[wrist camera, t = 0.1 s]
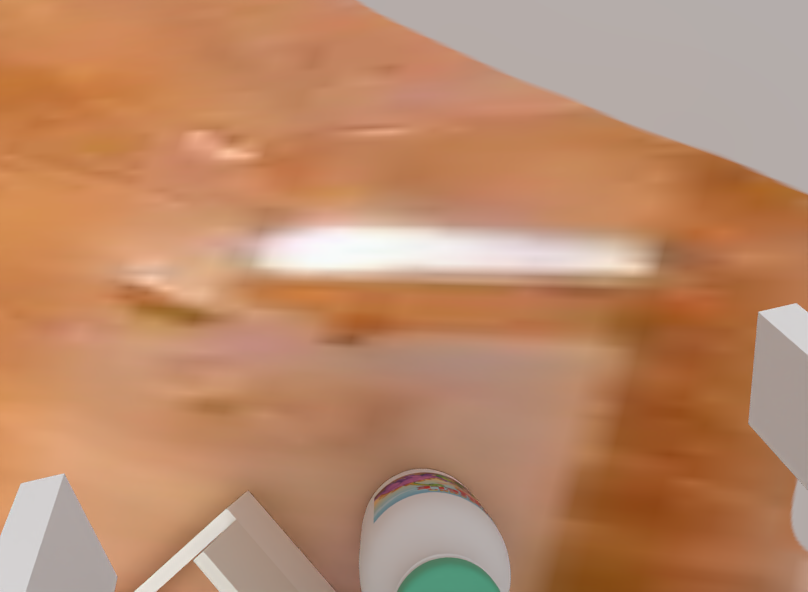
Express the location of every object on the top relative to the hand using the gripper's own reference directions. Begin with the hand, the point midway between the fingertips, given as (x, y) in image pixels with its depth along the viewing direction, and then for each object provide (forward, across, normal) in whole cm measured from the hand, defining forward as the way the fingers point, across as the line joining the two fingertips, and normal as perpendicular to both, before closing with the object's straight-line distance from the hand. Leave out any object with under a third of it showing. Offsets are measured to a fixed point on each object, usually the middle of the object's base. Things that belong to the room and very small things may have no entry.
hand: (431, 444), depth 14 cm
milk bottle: (+24, 0, +28) cm, 37 cm away
